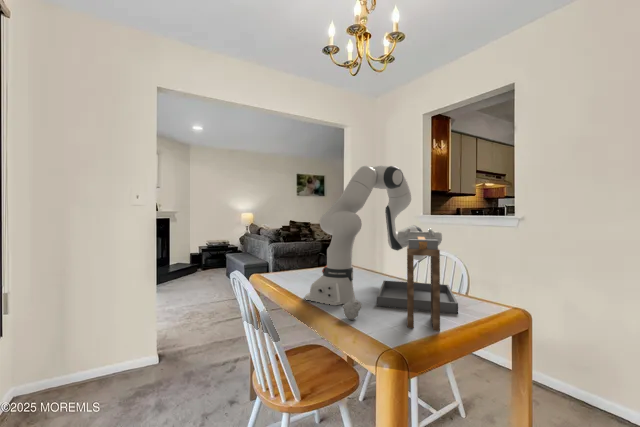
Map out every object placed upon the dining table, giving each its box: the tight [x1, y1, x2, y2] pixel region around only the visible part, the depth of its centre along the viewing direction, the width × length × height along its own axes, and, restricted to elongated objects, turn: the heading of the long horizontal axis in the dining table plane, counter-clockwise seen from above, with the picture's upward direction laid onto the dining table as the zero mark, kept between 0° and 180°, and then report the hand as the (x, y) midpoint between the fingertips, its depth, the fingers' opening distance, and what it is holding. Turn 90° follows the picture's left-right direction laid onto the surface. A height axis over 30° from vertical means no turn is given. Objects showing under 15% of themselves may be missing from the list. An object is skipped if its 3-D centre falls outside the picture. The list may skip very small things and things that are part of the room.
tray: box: [376, 280, 459, 315], centre depth 126 cm, size 30×30×4 cm
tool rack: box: [406, 245, 441, 332], centre depth 98 cm, size 10×12×26 cm
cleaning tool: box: [409, 237, 439, 250], centre depth 104 cm, size 9×22×3 cm, turn 162°
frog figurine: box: [341, 299, 363, 321], centre depth 102 cm, size 6×7×7 cm
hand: (419, 230), depth 132 cm, fingers open, 8 cm apart
